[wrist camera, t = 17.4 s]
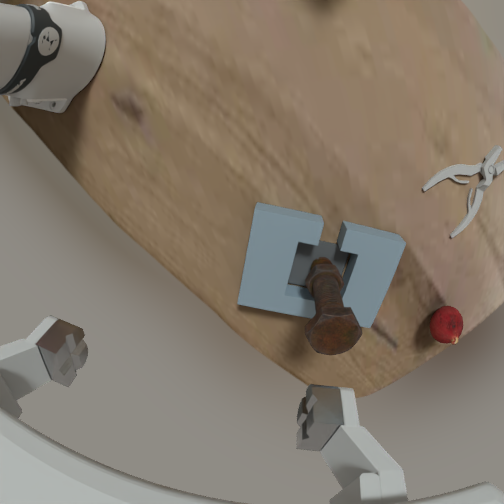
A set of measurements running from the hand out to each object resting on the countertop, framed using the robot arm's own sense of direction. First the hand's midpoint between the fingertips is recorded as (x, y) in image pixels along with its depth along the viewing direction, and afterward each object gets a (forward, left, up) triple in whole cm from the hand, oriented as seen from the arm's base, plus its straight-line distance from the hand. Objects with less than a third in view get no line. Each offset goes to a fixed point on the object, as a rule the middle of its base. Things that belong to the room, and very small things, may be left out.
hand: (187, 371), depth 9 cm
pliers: (+30, +8, -32) cm, 44 cm away
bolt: (+10, -10, -31) cm, 34 cm away
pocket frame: (+10, -10, -31) cm, 34 cm away
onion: (+33, -14, -31) cm, 48 cm away
